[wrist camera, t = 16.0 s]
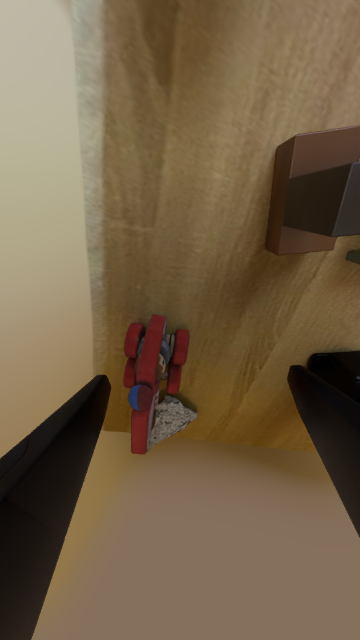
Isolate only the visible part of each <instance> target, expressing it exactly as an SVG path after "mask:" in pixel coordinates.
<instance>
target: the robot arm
mask: <svg viewBox="0 0 360 640" xmlns="http://www.w3.org/2000/svg"><path fill="white" fill-rule="evenodd" d="M287 381H288V384H289V387H290V390H291V392H292V395H293V398H294V401H295V403H296V406H297V409H298V412H299V414H300V416H301V418H302V420H303V423H304V425H305V427H306V429H307V431H308V433H309V435H310V437H311V439H312V441H313V443H314V445H315V447H316V449H317V451H318V453H319V455H320V457H321V459H322V461H323V464H324V465H325V468H326V470H327V472H328V474H329V476H330V478H331V480H332V482H333V484H334V486H335V488H336V490H337V492H338V494H339V496H340V498H341V500H342V502H343V504H344V507H345V509H346V511H347V513H348V515H349V517H350V519H351V521H352V523H353V525H354V527H355V529H356V531H357V533H358V535H359V537H360V351H351V352H333V353H316V354H313V355H312V356H311V359H310V363H309V366H308V369H306V368H305V367H303V366H301V365H292V366H290V369H289V373H288V377H287ZM110 391H111V385H110V382H109V380H108V378H107V376H106V375H97V376H96V377H94V378H93V379H92V380H91V381H90V382H89V383H88V384H86V385H85V386H84V387H83V388H82V389H81V390H79V391H78V392H77V393H76V394H75V395H74V396H73V397H72V398H70V399H69V400H68V401H67V402H66V403H64V404H63V405H62V406H61V407H60V408H59V409H58V410H57V411H55V412H54V413H53V414H52V415H51V416H50V417H48V418H47V419H46V420H45V421H44V422H43V423H41V424H40V426H38V427H37V428H36V429H34V430H33V431H32V432H31V433H30V434H29V435H27V436H26V437H25V438H24V439H23V440H22V441H21V442H19V444H17V445H16V446H15V447H13V448H12V449H11V450H10V451H9V452H8V453H6V455H4V456H3V457H1V458H0V640H31V639H32V636H33V633H34V630H35V627H36V624H37V621H38V618H39V615H40V612H41V609H42V606H43V603H44V600H45V597H46V594H47V591H48V588H49V585H50V582H51V579H52V576H53V573H54V570H55V567H56V564H57V561H58V558H59V555H60V552H61V549H62V546H63V543H64V540H65V536H66V533H67V530H68V527H69V524H70V521H71V518H72V515H73V512H74V509H75V506H76V503H77V500H78V497H79V494H80V491H81V488H82V485H83V482H84V479H85V476H86V473H87V470H88V467H89V464H90V461H91V458H92V455H93V452H94V449H95V446H96V443H97V440H98V437H99V434H100V431H101V428H102V425H103V422H104V418H105V414H106V410H107V405H108V401H109V396H110Z"/></svg>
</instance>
